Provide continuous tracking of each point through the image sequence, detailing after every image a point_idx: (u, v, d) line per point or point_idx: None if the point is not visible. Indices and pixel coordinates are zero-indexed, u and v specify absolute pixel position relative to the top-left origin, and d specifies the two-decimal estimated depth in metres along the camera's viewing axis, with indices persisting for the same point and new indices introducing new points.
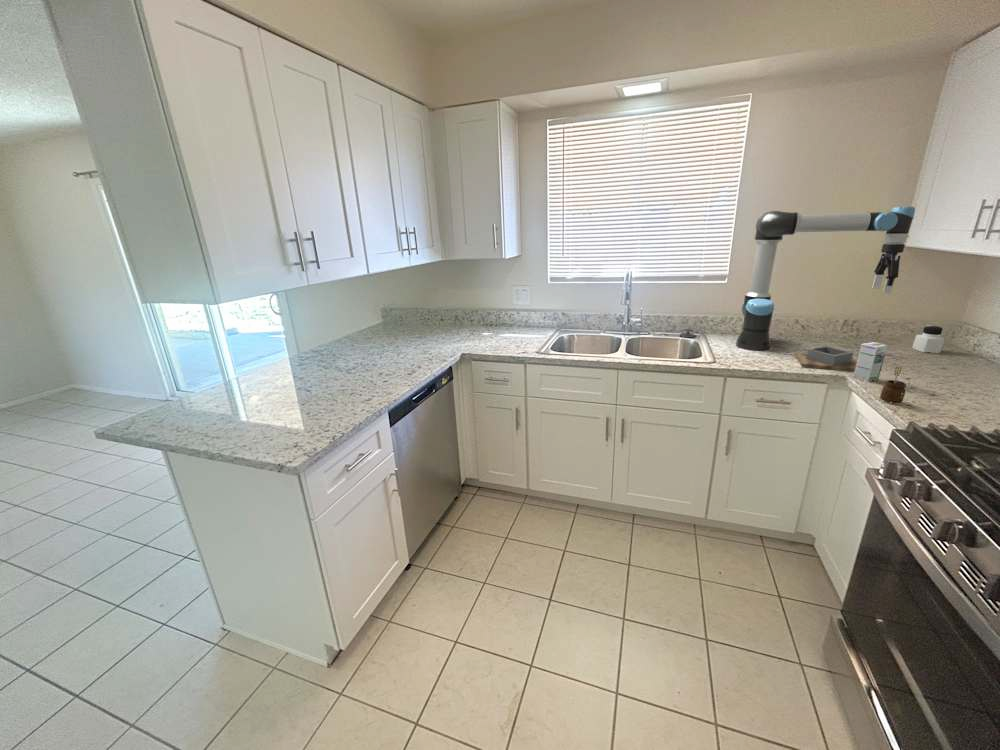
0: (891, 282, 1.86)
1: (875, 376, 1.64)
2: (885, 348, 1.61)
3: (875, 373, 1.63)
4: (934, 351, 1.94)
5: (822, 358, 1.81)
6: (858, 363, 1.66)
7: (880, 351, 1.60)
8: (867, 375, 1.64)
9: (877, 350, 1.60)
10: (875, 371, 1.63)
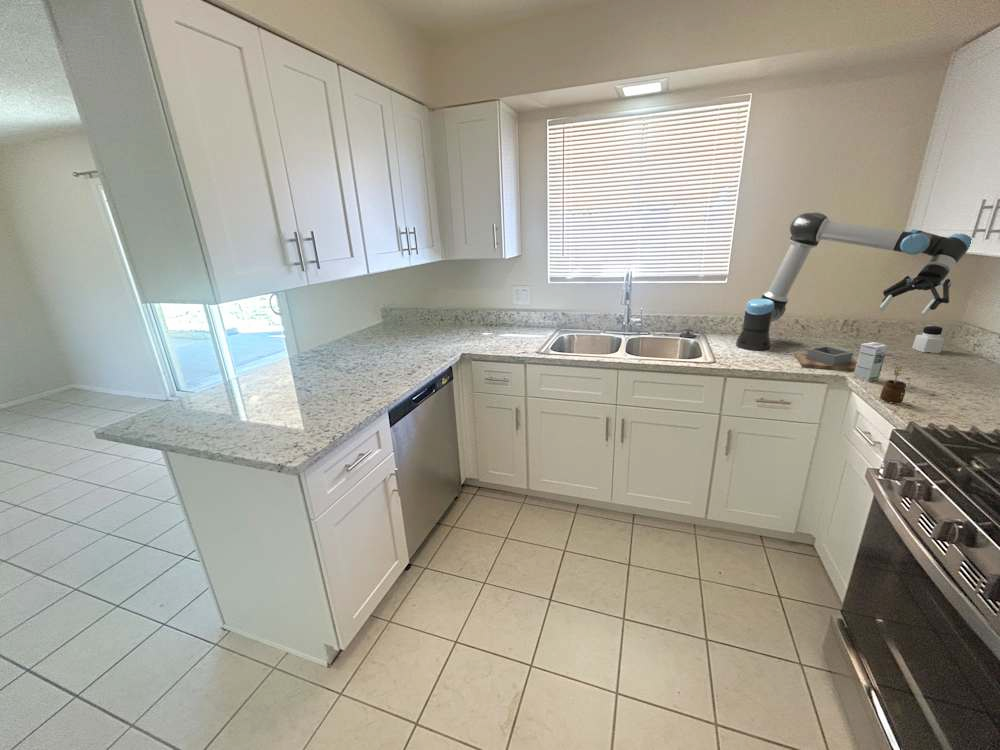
0: (937, 305, 1.55)
1: (875, 376, 1.64)
2: (885, 348, 1.61)
3: (875, 373, 1.63)
4: (934, 351, 1.94)
5: (822, 358, 1.81)
6: (858, 363, 1.66)
7: (880, 351, 1.60)
8: (867, 375, 1.64)
9: (877, 350, 1.60)
10: (875, 371, 1.63)
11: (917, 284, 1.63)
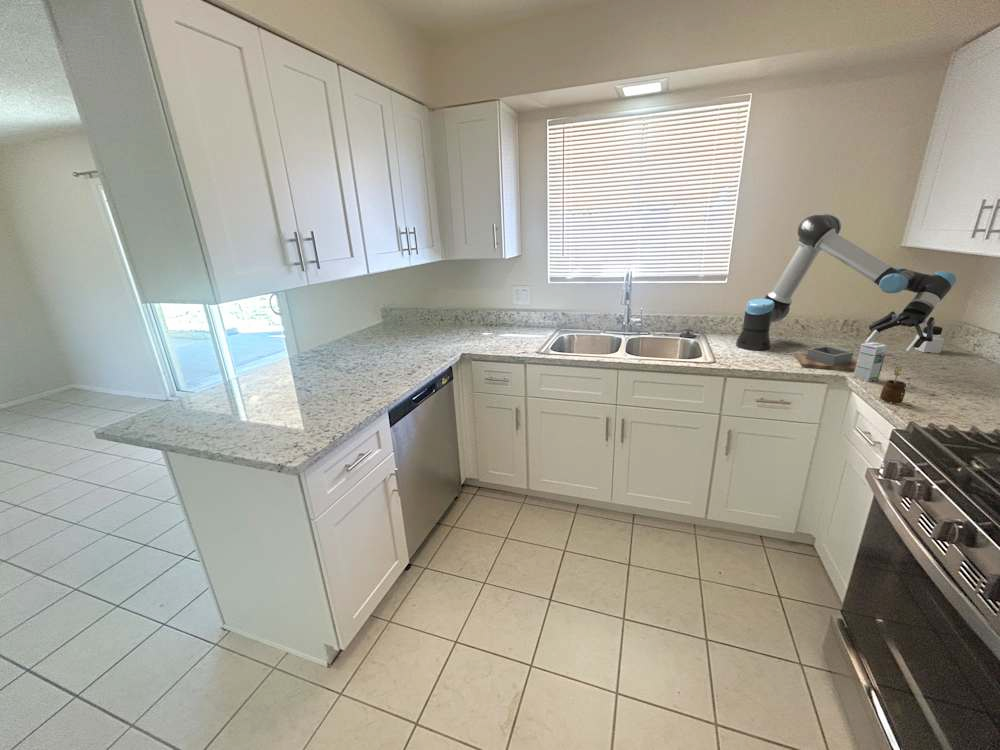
0: (920, 344, 1.57)
1: (875, 376, 1.64)
2: (885, 348, 1.61)
3: (875, 373, 1.63)
4: (934, 351, 1.94)
5: (822, 358, 1.81)
6: (858, 363, 1.66)
7: (880, 351, 1.60)
8: (867, 375, 1.64)
9: (877, 350, 1.60)
10: (875, 371, 1.63)
11: (902, 320, 1.64)
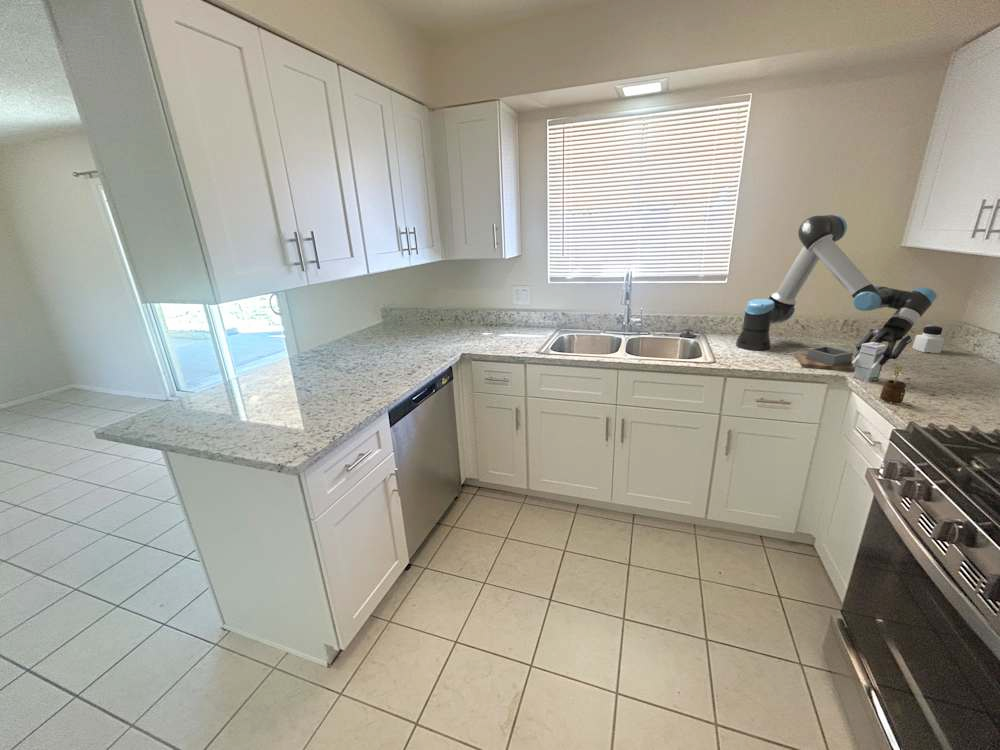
0: (885, 361, 1.60)
1: (875, 376, 1.64)
2: (885, 348, 1.61)
3: (876, 373, 1.63)
4: (934, 351, 1.94)
5: (822, 358, 1.81)
6: (858, 363, 1.66)
7: (881, 351, 1.60)
8: (867, 375, 1.64)
9: (877, 350, 1.60)
10: (875, 371, 1.63)
11: (882, 336, 1.65)
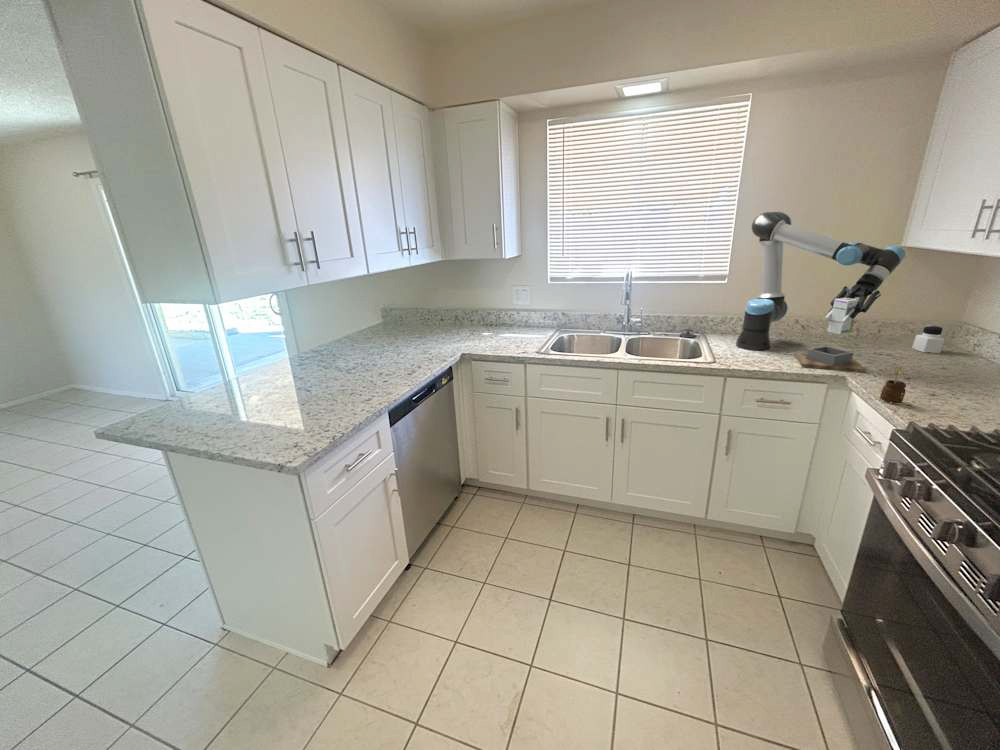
0: (856, 314, 1.71)
1: (847, 329, 1.75)
2: (856, 302, 1.72)
3: (847, 326, 1.75)
4: (934, 351, 1.94)
5: (822, 358, 1.81)
6: (831, 317, 1.78)
7: (852, 305, 1.72)
8: (839, 328, 1.75)
9: (848, 304, 1.71)
10: (847, 324, 1.75)
11: (854, 292, 1.76)
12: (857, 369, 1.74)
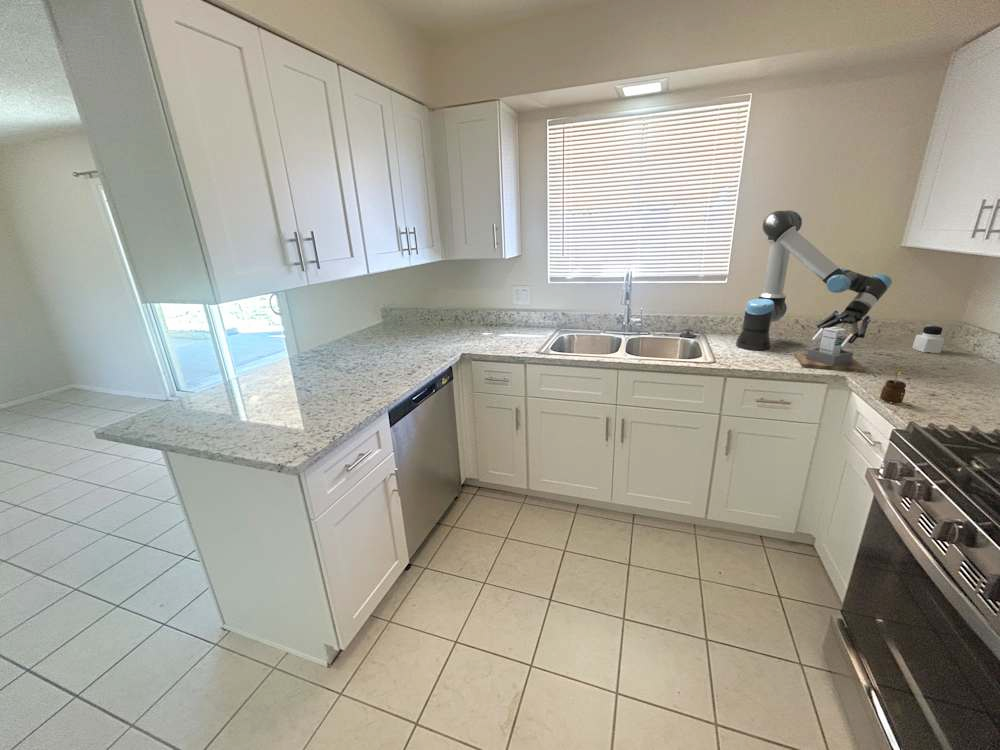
0: (854, 340, 1.75)
1: None
2: (844, 331, 1.78)
3: (836, 354, 1.81)
4: (934, 351, 1.94)
5: (822, 358, 1.81)
6: (821, 346, 1.84)
7: (840, 335, 1.78)
8: None
9: (837, 334, 1.78)
10: (836, 353, 1.81)
11: (843, 318, 1.82)
12: (857, 369, 1.74)
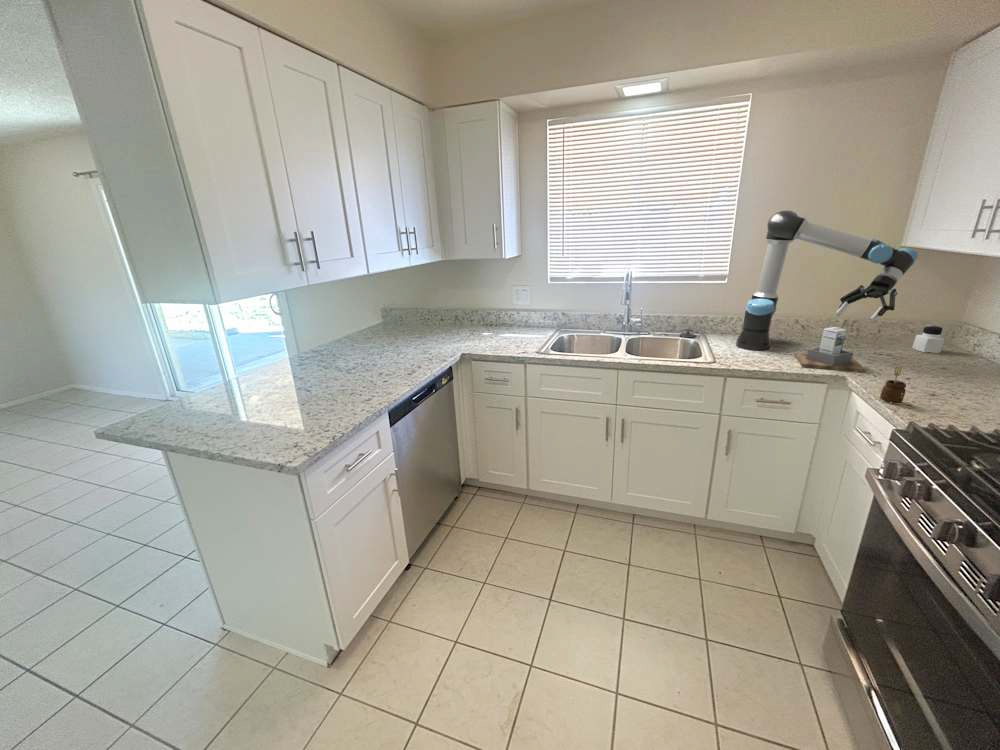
0: (883, 312, 1.75)
1: None
2: (844, 332, 1.78)
3: None
4: (934, 351, 1.94)
5: (822, 358, 1.81)
6: (821, 346, 1.84)
7: (840, 335, 1.78)
8: None
9: (837, 334, 1.77)
10: (836, 353, 1.81)
11: (869, 293, 1.82)
12: (857, 369, 1.74)
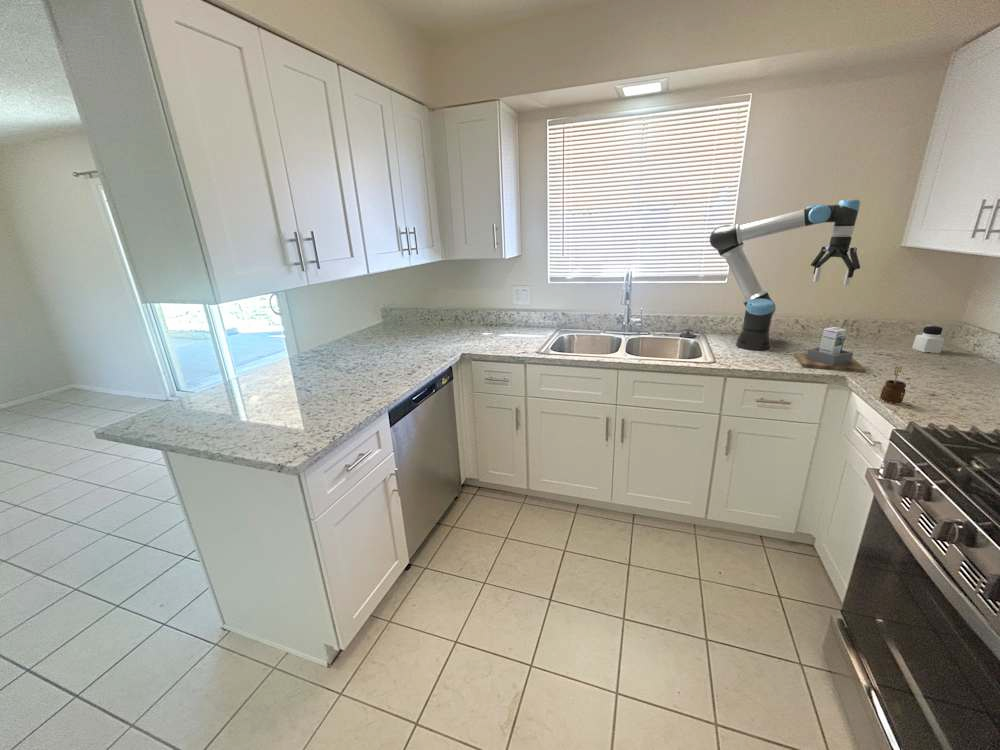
0: (852, 274, 1.89)
1: None
2: (844, 332, 1.78)
3: None
4: (934, 351, 1.94)
5: (822, 358, 1.81)
6: (821, 346, 1.84)
7: (840, 335, 1.78)
8: None
9: (837, 334, 1.77)
10: (836, 353, 1.81)
11: (832, 255, 1.94)
12: (857, 369, 1.74)
